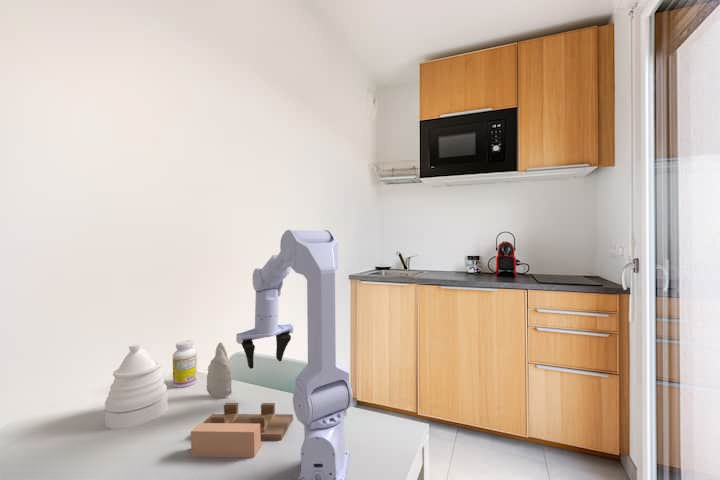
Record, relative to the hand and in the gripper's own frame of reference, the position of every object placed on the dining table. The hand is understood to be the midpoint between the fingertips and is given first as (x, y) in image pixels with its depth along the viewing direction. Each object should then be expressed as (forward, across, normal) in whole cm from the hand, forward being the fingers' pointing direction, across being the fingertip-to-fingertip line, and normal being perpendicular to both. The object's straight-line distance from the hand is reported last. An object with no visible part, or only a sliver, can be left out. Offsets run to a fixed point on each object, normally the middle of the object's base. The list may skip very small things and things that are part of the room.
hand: (265, 363), depth 83 cm
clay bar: (+8, +13, +16) cm, 23 cm away
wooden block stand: (+9, +8, +10) cm, 16 cm away
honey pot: (+13, +28, -14) cm, 34 cm away
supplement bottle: (+15, +15, -28) cm, 35 cm away
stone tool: (+13, +9, -11) cm, 19 cm away
